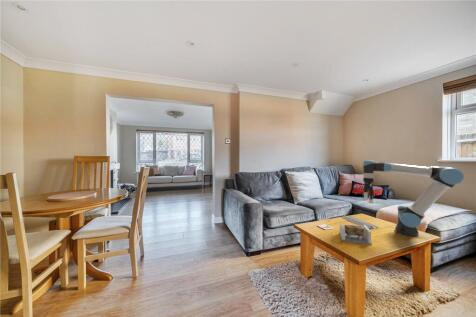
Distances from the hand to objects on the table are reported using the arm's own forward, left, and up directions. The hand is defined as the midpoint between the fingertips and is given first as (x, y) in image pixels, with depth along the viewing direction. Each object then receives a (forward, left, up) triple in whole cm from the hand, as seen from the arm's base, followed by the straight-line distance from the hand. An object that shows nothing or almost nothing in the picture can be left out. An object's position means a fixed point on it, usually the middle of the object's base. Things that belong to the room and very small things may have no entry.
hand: (368, 201), depth 165 cm
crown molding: (+3, -18, -28) cm, 33 cm away
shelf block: (+16, +23, -23) cm, 36 cm away
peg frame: (+16, +23, -27) cm, 39 cm away
